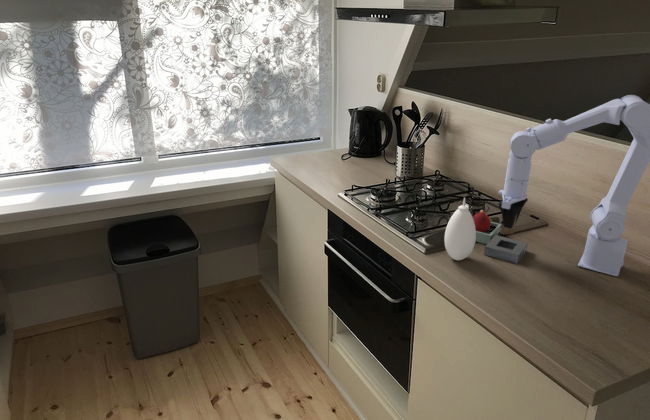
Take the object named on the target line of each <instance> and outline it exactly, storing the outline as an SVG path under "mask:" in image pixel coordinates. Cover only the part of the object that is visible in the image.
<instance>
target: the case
mask: <svg viewBox="0 0 650 420" xmlns="http://www.w3.org/2000/svg"><path fill="white" fill-rule="evenodd" d="M491 225H493V226H495V227H496V228H495V229H494V230H493V231H492V232H489V233H487V232H485V233H482V232H478V231H476V240H475V243H476V242H477V243H480V244H483V245H484V244H485V245H487V244H488V243H489V242H490V241H491V240H492V238H493V237H494V236H495V235H498V233H499V232H500V233H501V231H502V223H498V222H494V221H491ZM498 236H499V235H498Z"/></svg>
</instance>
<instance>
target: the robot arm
mask: <svg viewBox="0 0 650 420" xmlns="http://www.w3.org/2000/svg"><path fill="white" fill-rule="evenodd" d="M620 122H622V123H623V125H625V126H626V127H627V129H628V131H629V133H630V134H631V136H632V137H633V140H632V141H631V144H630V146H629V148H628V150H627V152H626V154H625V155H624V156H625V157H624V159H623V161H622V163H621V164H620V167H619V168H618V170H617V173H616V175H615V178H614V179H613V182H612V184H611V186H610V188H609V190H608V192H607V195H606V196H605V197H603V198H602V199H601V200H600V202H599V204H598V205H597V206H595V207H594V208H593V209H592V210H591V212H590V214H589V215H590V221H591V222H592V226H591V227H590V228H589V229H588V232H587V237H586V241H585V242H586V243H585V247H584V250H583V254H582V255H581V258H580V260H579V262H578V264H577V266H578V267H580V268H583V269H587V270H591V271H595V272H599V273H602V274H606V275H610V276H614V277H619V275H620V271H621V268H623V266H624V262H625V260H624V257H625V254H626V250H627V247H628V242H629V240H628V239H626V238H623V237H621V236H622V235H624V233H625V221H626V219H627V214H628V213H627V212H628V205H629V203H630V201H631V199H632V198H633V195H634V193H635V190H636V188H637V187H638V185H639V183H640V181H641V179H642V176H643V175H644V172H645V171H646V169H647V167H648V165H649V163H650V103H648V102H646V101H644V100H643V99H642V97H640V96H638V95H635V94H627V95H625V96H622V97H621V98H615V99H612V100H610V101H608V102H605V103H603V104H601V105H598V106H596V107H594V108H591V109H588V110H587V111H585V112H582V113H579V114H578V115H576V116H573V117H570V118H568V119H566V120H561V119H557V118H555V119H553V120H552V118H548V119H546V120H545V123H542V124H540V125H537V126H534V127H527V128H526V129H525V130H520V131H517V132H514V134H513V135H512V136H511V138H510V140H509V145H510V151H509V154H508V157H509V158H508V159H507V165H506V173H505V179H504V185H503V186H504V187H503V189H500V190H499V191H498V194H499V195H501V196H502V200H500V201H499V202H498V207H499V209H500V213H501V215H502V216H501V217H502V227H506V228H510V229H511V228H512V226H513V224H514V221H515V218H516V215H517V219H516V223H517V222H518V219H519V218H520V215H521V211H522V209H523V207H524V206H525V204H526V203H527V202H528V200H529V199H528V198H527V196H528V194H527V191H528V186H529V180H530V175H531V168H532V155H534V154H535V152H536V151H538V150H542V149H545V148H548V147H550V146H553V145H555V144H558V143H561V142H563V141H565V140H566V139H567V137H568V136H569V134H572V133H574V132H577V131H581V130H584V129H587V128H589V127H592V126H597V125H599V124H602V123H606V124H612V125H617V126H620V124H621V123H620Z"/></svg>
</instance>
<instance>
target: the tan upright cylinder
mask: <svg viewBox="0 0 650 420" xmlns="http://www.w3.org/2000/svg"><path fill="white" fill-rule="evenodd" d="M516 219H517V215H516V218H515V221H514V224H513V226H512V228H511V229H510V228H506V227H503V226H501V233H503V234H506V235H507V234H508V235H513V234H515V229H516V226H517V225H516V224H517V222H516Z"/></svg>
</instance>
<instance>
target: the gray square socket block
mask: <svg viewBox="0 0 650 420" xmlns="http://www.w3.org/2000/svg"><path fill="white" fill-rule="evenodd" d="M528 244H529V243H528V242H525V241H521V240H518V239H515V238H509V237H506V236H503V235H502V236H501V235H495V236H494V237H493V238H492V240H491V241H490V242H489V243H488V244H485V246H484V250H483V255H484V256H488V257H492V258H495V259H498V260H502V261H506V262H509V263H514V264H516V265H517V264H518V263H519V262H520V261H521V259H522V258H523V256H524V255H525V254H526V252H527V249H528Z"/></svg>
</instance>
